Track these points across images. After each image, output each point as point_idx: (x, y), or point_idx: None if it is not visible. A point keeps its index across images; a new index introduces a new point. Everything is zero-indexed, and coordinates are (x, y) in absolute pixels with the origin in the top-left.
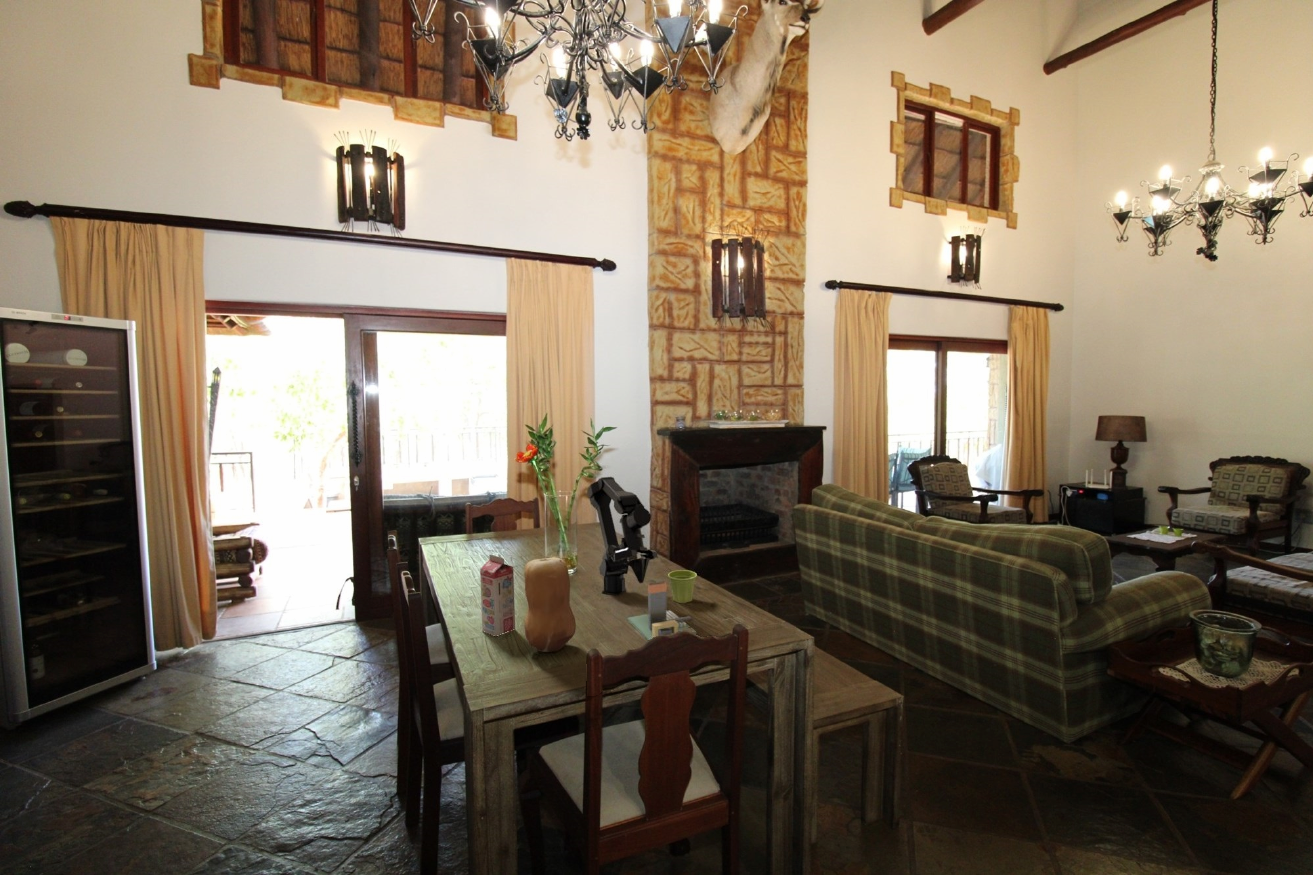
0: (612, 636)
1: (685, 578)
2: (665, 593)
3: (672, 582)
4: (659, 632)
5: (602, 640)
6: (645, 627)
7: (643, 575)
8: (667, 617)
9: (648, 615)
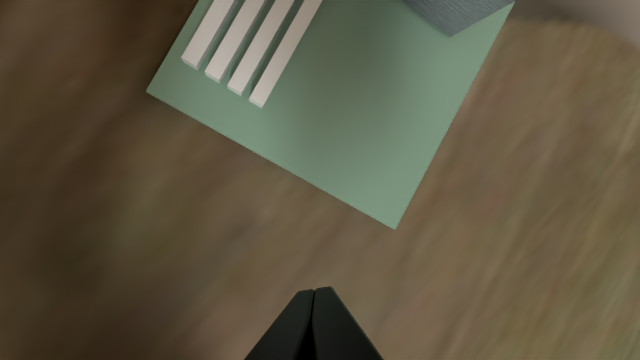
0: (557, 153)
1: None
2: None
3: None
4: None
5: (602, 160)
6: (443, 62)
7: (316, 335)
8: (287, 12)
9: (503, 6)
